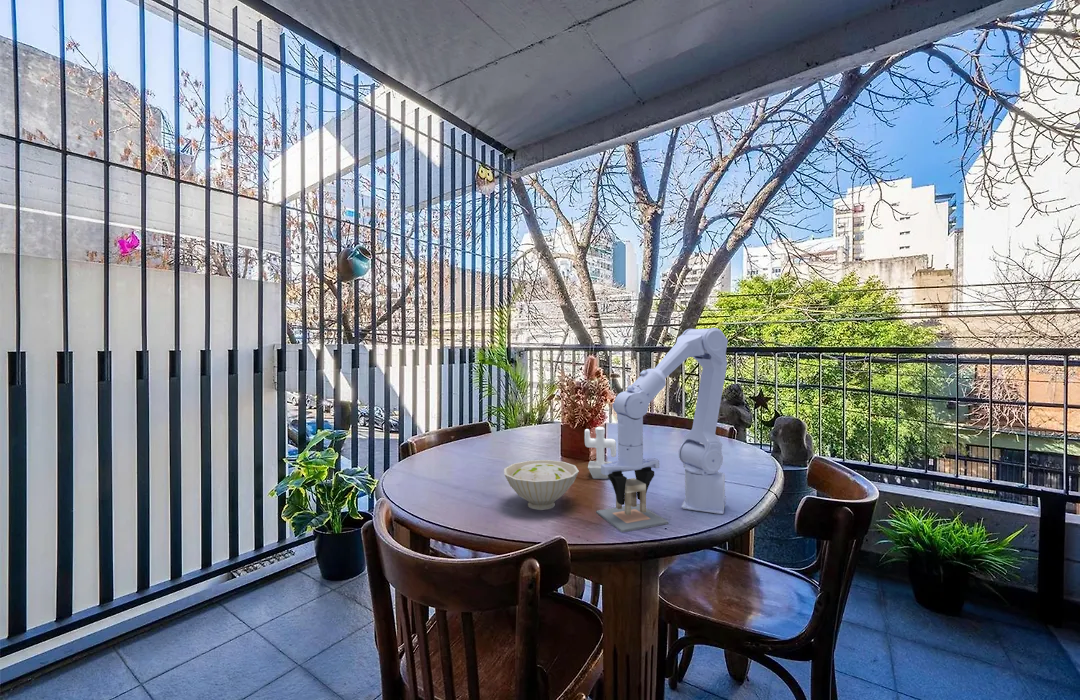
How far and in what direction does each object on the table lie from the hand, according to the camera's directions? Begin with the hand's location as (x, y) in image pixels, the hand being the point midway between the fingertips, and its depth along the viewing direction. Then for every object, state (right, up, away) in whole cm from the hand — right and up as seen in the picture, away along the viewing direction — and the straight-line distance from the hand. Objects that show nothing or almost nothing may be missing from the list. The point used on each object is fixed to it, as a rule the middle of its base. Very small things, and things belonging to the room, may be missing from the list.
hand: (631, 501), depth 107 cm
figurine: (-3, -3, +32) cm, 33 cm away
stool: (0, -2, 0) cm, 2 cm away
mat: (0, -4, 0) cm, 4 cm away
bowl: (-21, -4, +10) cm, 23 cm away
